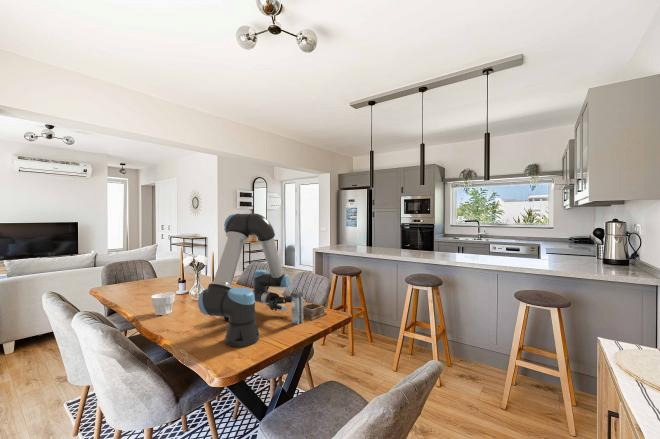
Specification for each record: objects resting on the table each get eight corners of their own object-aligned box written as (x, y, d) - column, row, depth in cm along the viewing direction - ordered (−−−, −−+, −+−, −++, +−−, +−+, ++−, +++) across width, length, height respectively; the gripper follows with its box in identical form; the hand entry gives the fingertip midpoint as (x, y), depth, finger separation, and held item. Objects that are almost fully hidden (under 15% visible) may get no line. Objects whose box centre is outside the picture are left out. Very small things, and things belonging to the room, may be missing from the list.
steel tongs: (297, 324, 153) (296, 294, 153) (290, 322, 157) (289, 292, 157) (303, 322, 157) (302, 292, 156) (296, 320, 160) (295, 290, 160)
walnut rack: (312, 320, 159) (312, 311, 159) (297, 315, 167) (297, 307, 167) (326, 314, 168) (326, 305, 168) (311, 310, 176) (311, 302, 176)
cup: (180, 311, 177) (179, 293, 177) (160, 318, 166) (160, 299, 165) (166, 309, 182) (166, 291, 182) (146, 315, 171) (146, 296, 171)
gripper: (286, 300, 182) (311, 306, 168) (252, 310, 163) (277, 319, 149) (286, 288, 182) (311, 293, 168) (252, 297, 163) (277, 304, 149)
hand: (295, 305), depth 158 cm, fingers open, 13 cm apart
